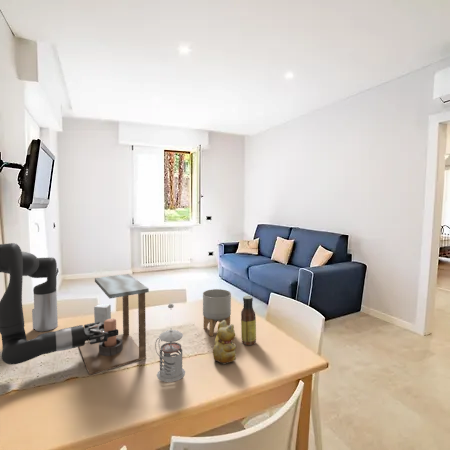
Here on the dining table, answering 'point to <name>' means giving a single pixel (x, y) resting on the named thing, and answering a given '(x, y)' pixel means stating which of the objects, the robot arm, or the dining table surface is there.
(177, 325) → the dining table surface
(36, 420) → the dining table surface
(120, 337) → the slanted top stand
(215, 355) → the decorative figurine
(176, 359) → the french press
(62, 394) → the dining table surface
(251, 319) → the sauce bottle
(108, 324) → the peg
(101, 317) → the skincare box
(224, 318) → the planter
